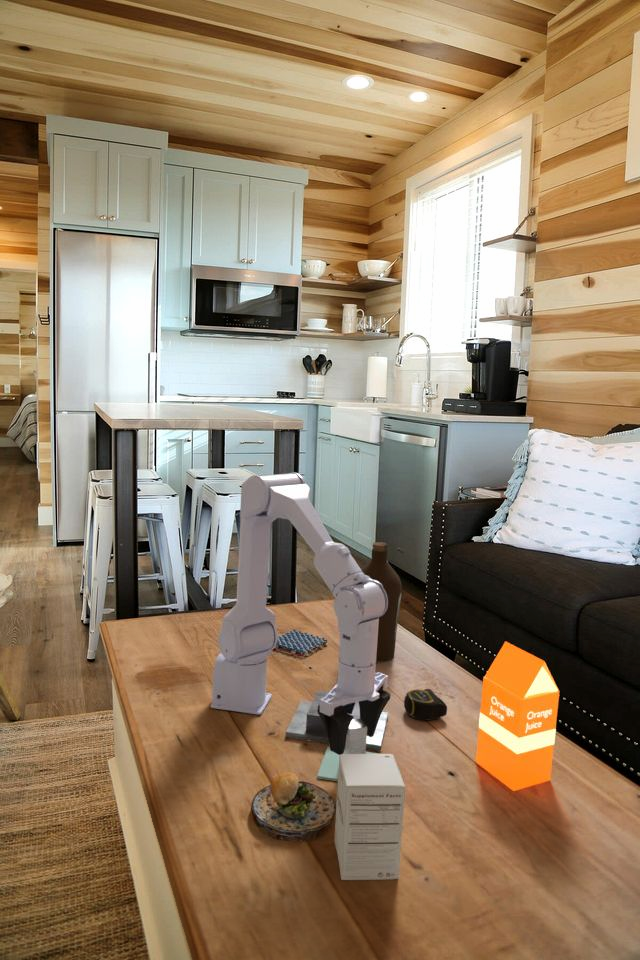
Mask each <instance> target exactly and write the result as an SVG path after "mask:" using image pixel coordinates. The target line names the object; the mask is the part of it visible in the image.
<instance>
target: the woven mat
mask: <svg viewBox="0 0 640 960" xmlns="http://www.w3.org/2000/svg"><path fill="white" fill-rule="evenodd" d="M313 635H314V634H312V633H310V634H308V632H302V631H301V630H300V631H296V629H293V630H289V631H288V632H284V634H281V635H280V636H279V635H278V640H277V644H276V646H275V648H274V649H273V650H274V651H277V652H281V653H284V654H287V655H291V656H294V657H297V658H300V659H306V657H308V656H312V654H315V653H317V651H319V650H322V649H325V648H326V647H327V646H328V645H329V644H328V639H325V637H322V638H321V637H319V635H314V636H313Z"/></svg>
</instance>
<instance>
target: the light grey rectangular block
mask: <svg viewBox="0 0 640 960" xmlns="http://www.w3.org/2000/svg"><path fill="white" fill-rule="evenodd" d="M366 739H367V726H366V725H365V724H364V722H363V721H362V720H361V719H352V721H351V723H350V726H349V729H348V732H347V737H346V744H345V750H344V753H343V754H366V752H367V749H366Z"/></svg>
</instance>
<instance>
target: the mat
mask: <svg viewBox="0 0 640 960" xmlns="http://www.w3.org/2000/svg"><path fill="white" fill-rule="evenodd" d="M326 747H327V748H326V750H325V754H324V756H323V759H322V761H321V763H320V764H321V765H320V767H319V768H318V773H317V777H316V778H317V779H321V780H327V781H333V782H338V773H339V755H338V754H336V753H334V752H332V751H331V750H330V745H329V746H328V745H327V746H326ZM366 754H379V753H376V752H370V751H366Z"/></svg>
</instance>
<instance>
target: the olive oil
mask: <svg viewBox="0 0 640 960" xmlns="http://www.w3.org/2000/svg"><path fill="white" fill-rule="evenodd" d="M360 569H361V570H362V572H363V573H364V575H367V576H369V577H370V578H371V579H373V580H376V581H378V582H380V583H381V584H382V585H383V588H384V590H385V591H386V594H387V597H388V607H387V610H386V612H385V613H384V615H382V616H380V617H378V618H379V625H378V639H377V654H376V663H379V662H386V661H390V660H392V659H393V658H394V656H395V653H396V641H397V640H396V639H397V632H398V623H399V615H400V614H399V613H400V607H401V599H402V591H403V590H402V589H403V588H402V586H403V585H402V582H401V578H400V576H399V575H398V573H397V572H396V571H395V569H394V568H393V567H392V566H391V565H390V563H389V562H388V544H387V543H386V542H382V541H380V542H379V541H378V542H377V541H376V542H373V543H372V549H371V559H370V561H368V562H367V564H365V565H364V566H363V567H361V568H360ZM376 619H377V618H376Z"/></svg>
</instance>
